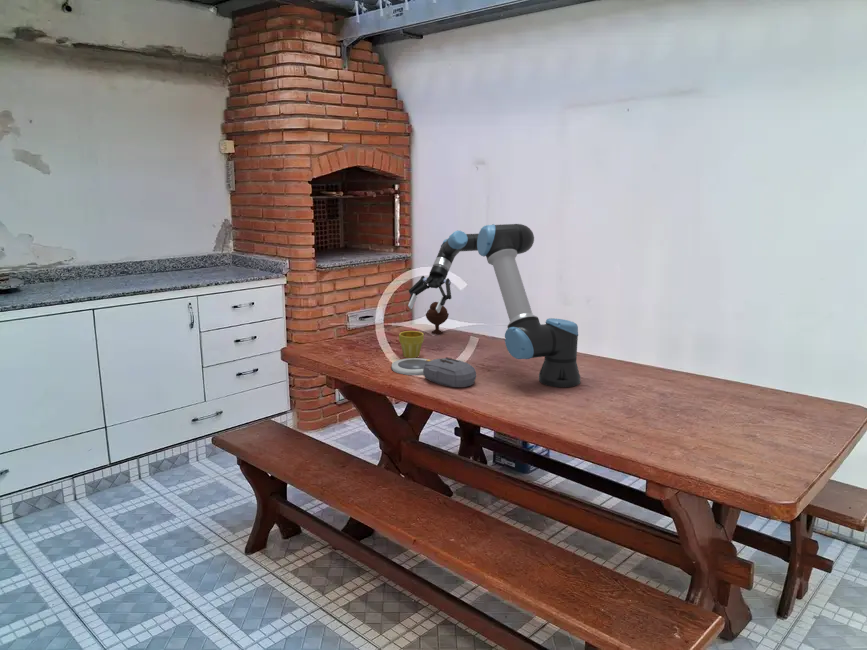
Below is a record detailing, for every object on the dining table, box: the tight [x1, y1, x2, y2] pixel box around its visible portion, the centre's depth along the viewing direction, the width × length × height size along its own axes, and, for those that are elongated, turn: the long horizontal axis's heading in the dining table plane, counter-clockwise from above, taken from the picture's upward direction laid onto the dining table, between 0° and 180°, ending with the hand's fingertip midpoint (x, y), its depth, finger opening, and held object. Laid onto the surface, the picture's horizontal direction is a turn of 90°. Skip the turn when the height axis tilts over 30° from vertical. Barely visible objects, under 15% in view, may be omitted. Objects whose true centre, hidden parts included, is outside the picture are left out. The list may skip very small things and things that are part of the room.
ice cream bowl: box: [425, 301, 450, 335], centre depth 313 cm, size 11×11×15 cm
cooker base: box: [391, 357, 432, 376], centre depth 258 cm, size 18×18×2 cm
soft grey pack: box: [423, 356, 477, 388], centre depth 242 cm, size 15×8×20 cm
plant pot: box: [398, 330, 425, 359], centre depth 274 cm, size 10×10×10 cm
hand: (423, 309), depth 280 cm, fingers open, 13 cm apart
